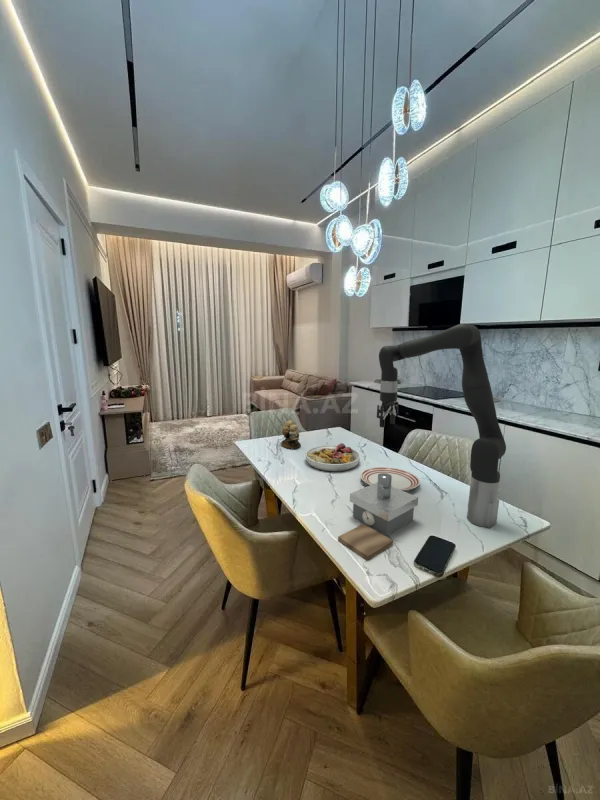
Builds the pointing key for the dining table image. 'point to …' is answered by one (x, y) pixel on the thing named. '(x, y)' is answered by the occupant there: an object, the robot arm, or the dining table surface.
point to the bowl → (333, 457)
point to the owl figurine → (290, 436)
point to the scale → (382, 520)
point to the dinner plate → (399, 477)
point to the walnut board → (365, 541)
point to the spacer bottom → (383, 493)
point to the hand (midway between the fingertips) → (387, 425)
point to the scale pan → (384, 502)
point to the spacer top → (384, 480)
